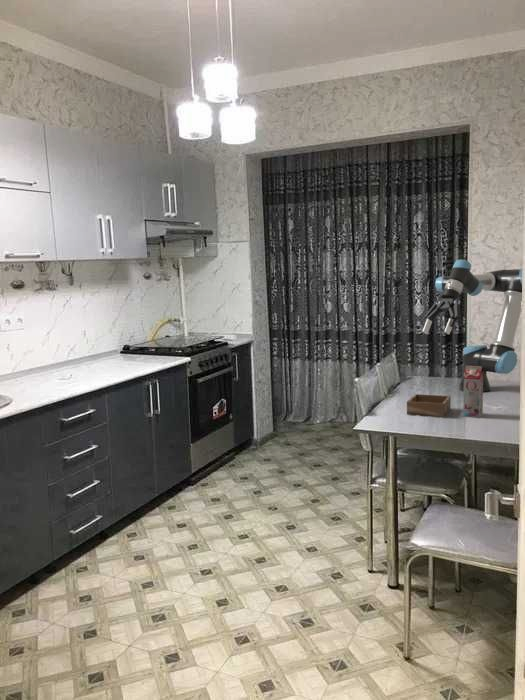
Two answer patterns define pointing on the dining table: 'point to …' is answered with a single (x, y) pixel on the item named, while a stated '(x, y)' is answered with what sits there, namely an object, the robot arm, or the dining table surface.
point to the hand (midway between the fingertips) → (435, 332)
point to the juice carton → (473, 392)
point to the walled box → (429, 405)
